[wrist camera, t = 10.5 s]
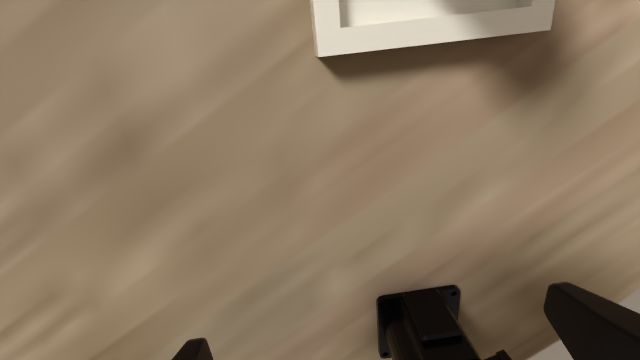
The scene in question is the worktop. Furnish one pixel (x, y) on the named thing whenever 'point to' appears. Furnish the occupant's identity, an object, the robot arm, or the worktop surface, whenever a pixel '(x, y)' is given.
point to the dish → (419, 22)
